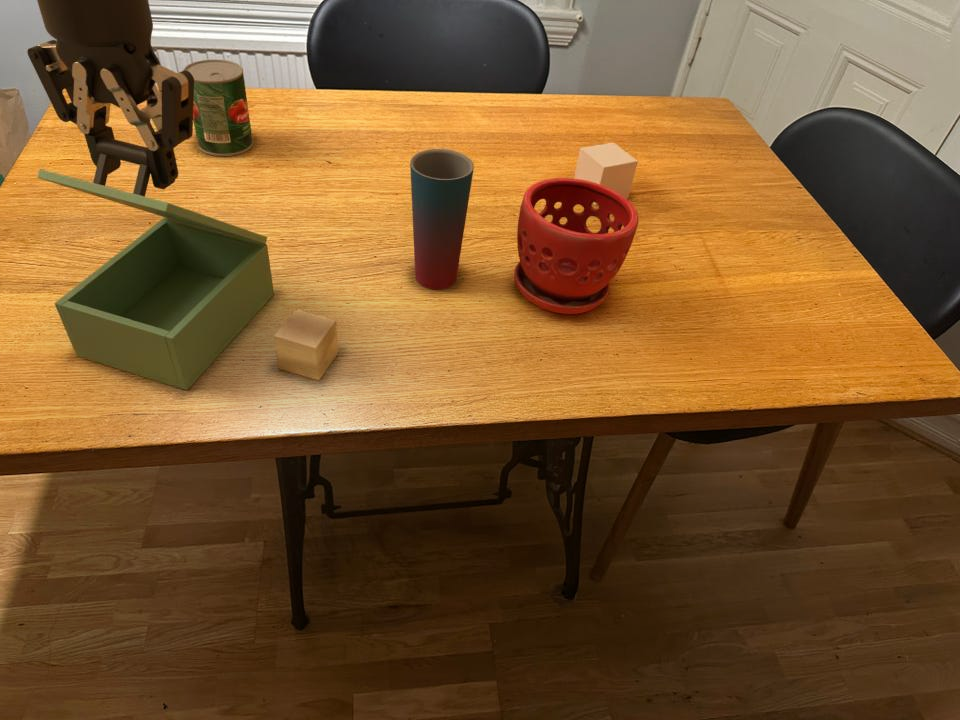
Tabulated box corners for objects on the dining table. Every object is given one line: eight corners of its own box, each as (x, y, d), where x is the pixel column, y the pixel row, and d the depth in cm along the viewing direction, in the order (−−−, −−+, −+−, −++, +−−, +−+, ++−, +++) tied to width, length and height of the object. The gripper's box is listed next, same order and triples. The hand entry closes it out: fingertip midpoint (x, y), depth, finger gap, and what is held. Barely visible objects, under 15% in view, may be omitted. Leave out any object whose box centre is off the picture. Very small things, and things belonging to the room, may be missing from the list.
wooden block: (318, 380, 70) (315, 348, 67) (278, 368, 71) (273, 335, 68) (338, 352, 73) (336, 320, 70) (300, 341, 74) (296, 308, 71)
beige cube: (604, 179, 107) (613, 142, 102) (628, 198, 103) (638, 160, 99) (572, 185, 104) (580, 147, 100) (594, 205, 100) (604, 167, 96)
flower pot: (588, 339, 79) (612, 251, 70) (489, 295, 83) (500, 207, 75) (632, 284, 87) (657, 199, 79) (540, 246, 91) (555, 162, 83)
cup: (415, 297, 81) (419, 182, 71) (401, 264, 86) (403, 151, 76) (470, 290, 83) (482, 177, 73) (454, 257, 88) (463, 146, 78)
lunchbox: (187, 390, 68) (172, 338, 63) (76, 356, 70) (53, 303, 65) (274, 294, 79) (267, 244, 75) (177, 267, 81) (164, 216, 77)
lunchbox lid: (166, 212, 57) (180, 152, 57) (36, 177, 59) (49, 120, 59) (265, 244, 74) (277, 198, 74) (162, 216, 77) (173, 172, 76)
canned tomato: (192, 136, 105) (177, 61, 97) (245, 129, 108) (235, 56, 100) (204, 160, 100) (189, 84, 92) (259, 152, 103) (249, 77, 95)
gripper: (-40, -43, 49) (38, 177, 61) (136, -6, 47) (183, 216, 58) (41, -61, 55) (98, 144, 66) (202, -29, 52) (233, 178, 64)
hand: (137, 176), depth 62 cm, fingers closed on lunchbox lid, 5 cm apart
